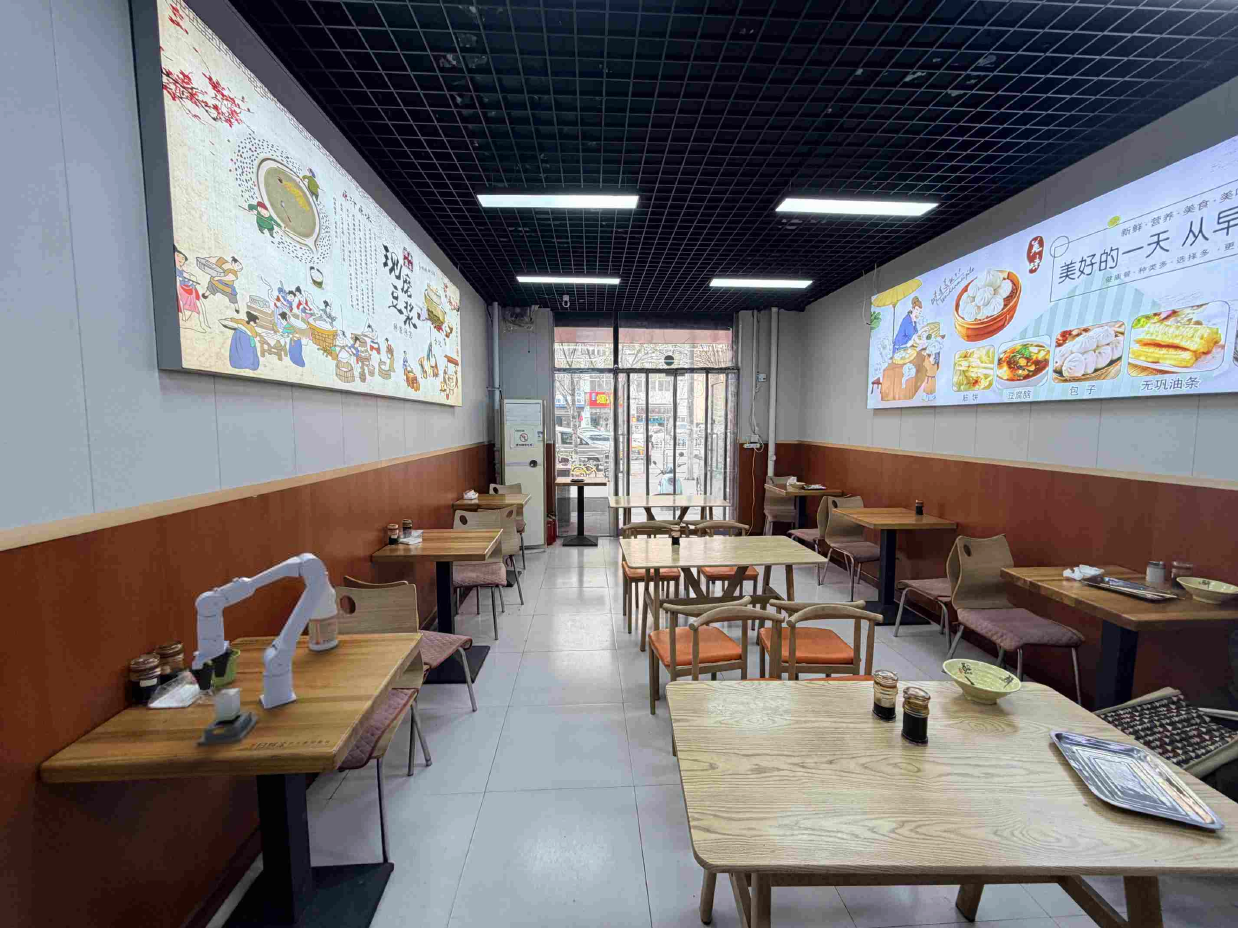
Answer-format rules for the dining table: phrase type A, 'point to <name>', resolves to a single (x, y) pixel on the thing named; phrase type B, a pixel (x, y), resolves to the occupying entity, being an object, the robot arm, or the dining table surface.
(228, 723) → the stand base
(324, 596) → the fruit juice
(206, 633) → the robot arm
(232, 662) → the plant pot
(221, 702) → the post
